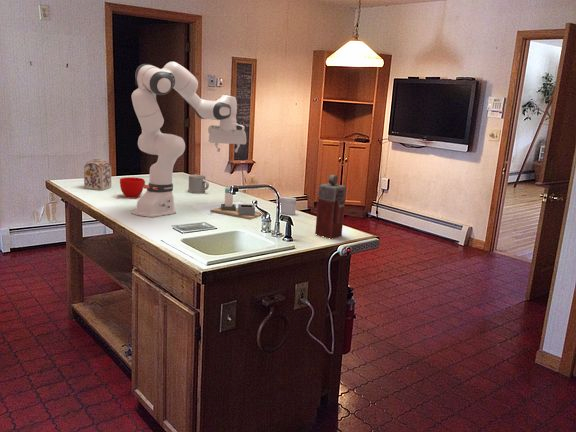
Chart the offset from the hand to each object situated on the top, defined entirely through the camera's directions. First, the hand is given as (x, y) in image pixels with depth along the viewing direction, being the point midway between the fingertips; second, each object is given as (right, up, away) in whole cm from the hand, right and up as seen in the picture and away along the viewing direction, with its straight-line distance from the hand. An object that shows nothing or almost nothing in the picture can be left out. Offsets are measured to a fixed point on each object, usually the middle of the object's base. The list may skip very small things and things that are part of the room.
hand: (227, 152), depth 283 cm
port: (+11, -33, -14) cm, 38 cm away
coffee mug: (-22, -20, +38) cm, 48 cm away
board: (+6, -33, -11) cm, 35 cm away
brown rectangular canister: (+52, -44, -42) cm, 80 cm away
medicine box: (+32, -34, -3) cm, 47 cm away
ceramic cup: (-54, -24, +14) cm, 61 cm away
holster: (+1, -31, -7) cm, 32 cm away
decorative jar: (-80, -18, +30) cm, 88 cm away
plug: (+1, -31, -7) cm, 32 cm away
